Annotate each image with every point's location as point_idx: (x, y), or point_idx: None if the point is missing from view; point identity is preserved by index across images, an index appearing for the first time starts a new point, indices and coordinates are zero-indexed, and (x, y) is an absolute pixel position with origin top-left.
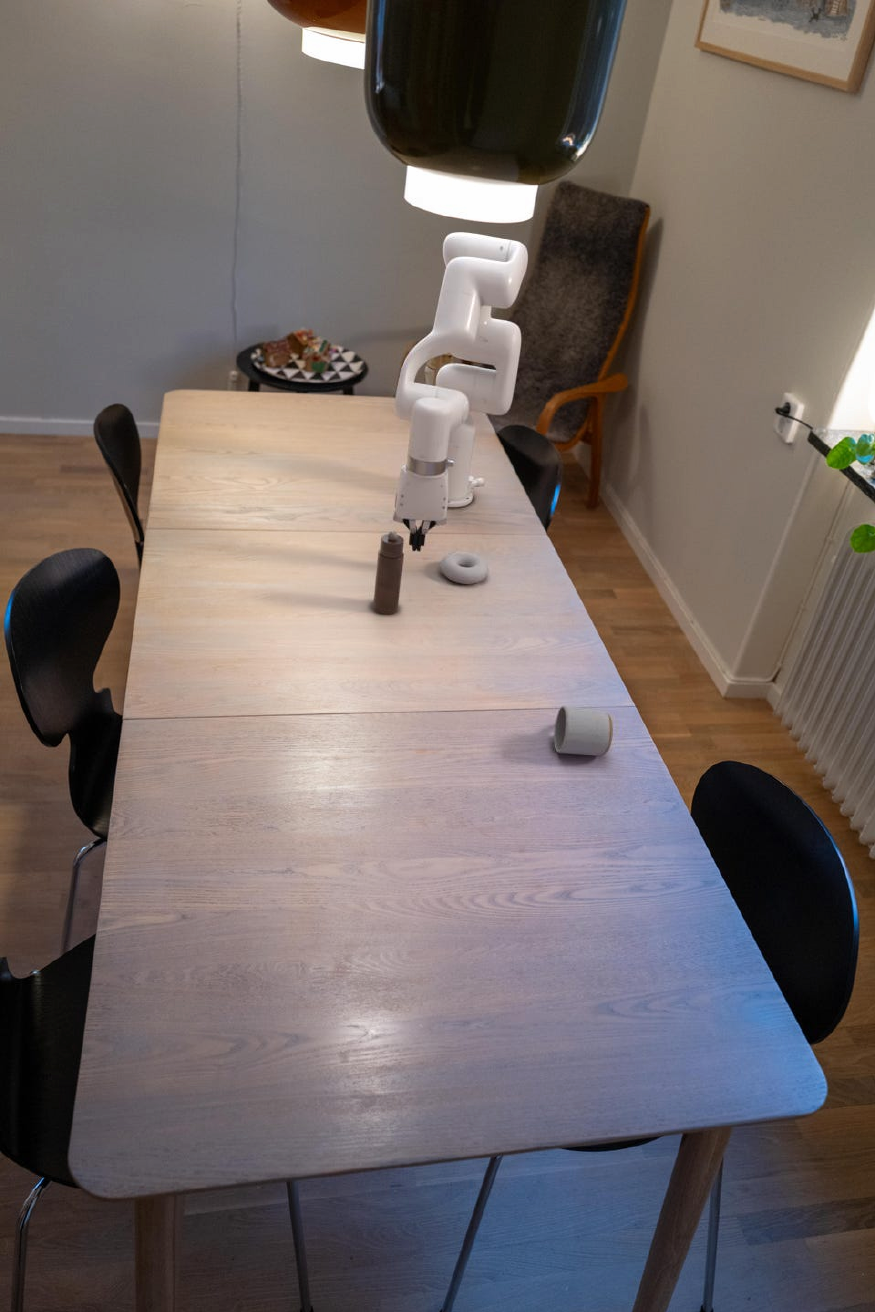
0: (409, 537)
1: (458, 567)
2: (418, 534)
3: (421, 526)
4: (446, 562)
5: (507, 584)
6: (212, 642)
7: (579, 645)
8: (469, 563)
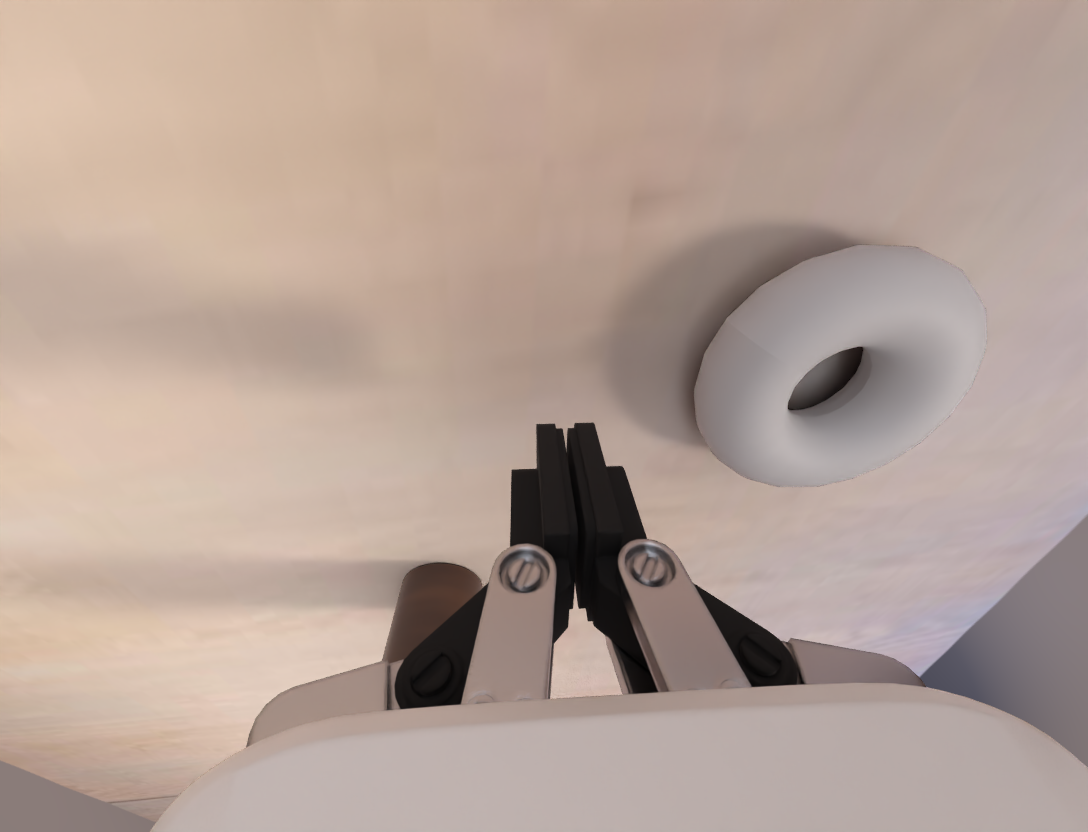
0: (511, 495)
1: (776, 471)
2: (578, 582)
3: (616, 615)
4: (734, 424)
5: (961, 413)
6: (65, 713)
7: (928, 638)
8: (877, 354)
